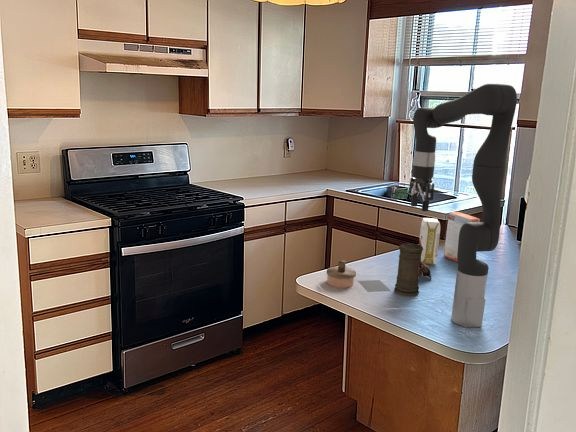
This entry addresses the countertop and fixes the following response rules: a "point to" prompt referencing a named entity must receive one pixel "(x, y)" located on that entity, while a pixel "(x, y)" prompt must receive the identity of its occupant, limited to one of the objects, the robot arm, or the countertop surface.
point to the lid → (341, 271)
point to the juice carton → (429, 240)
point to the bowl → (340, 282)
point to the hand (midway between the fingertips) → (419, 208)
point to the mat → (374, 285)
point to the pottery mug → (424, 270)
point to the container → (408, 269)
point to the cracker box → (455, 232)
